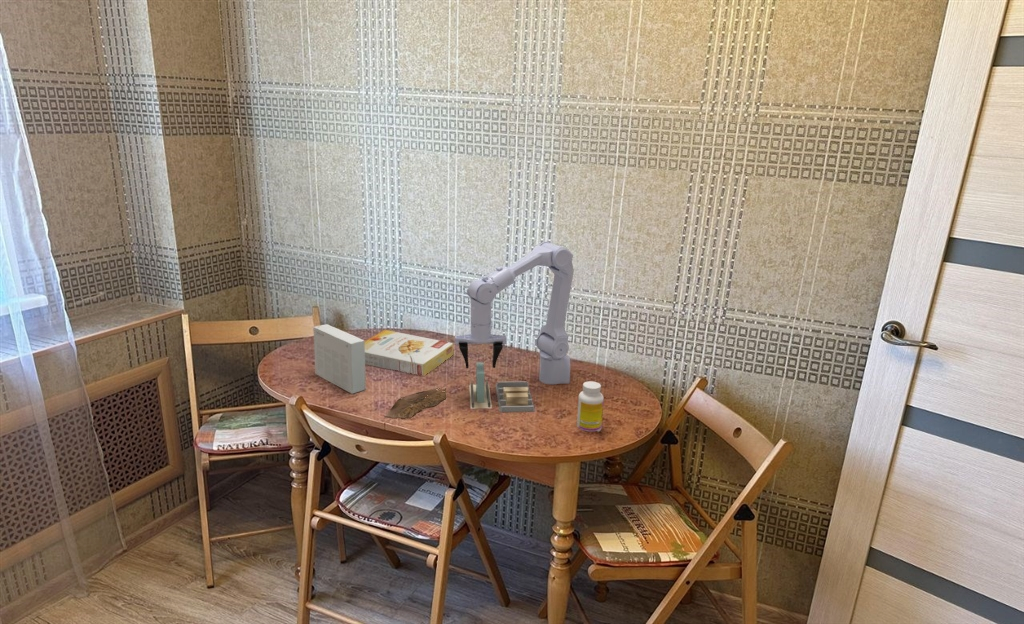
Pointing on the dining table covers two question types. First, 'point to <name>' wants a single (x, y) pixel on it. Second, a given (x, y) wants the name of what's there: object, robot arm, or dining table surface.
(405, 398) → the wooden fragment
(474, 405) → the holder
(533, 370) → the dining table surface
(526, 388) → the block
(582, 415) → the supplement bottle
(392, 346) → the cereal box
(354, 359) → the skincare box
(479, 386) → the teal rectangular block
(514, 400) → the offcut front
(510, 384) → the rack
